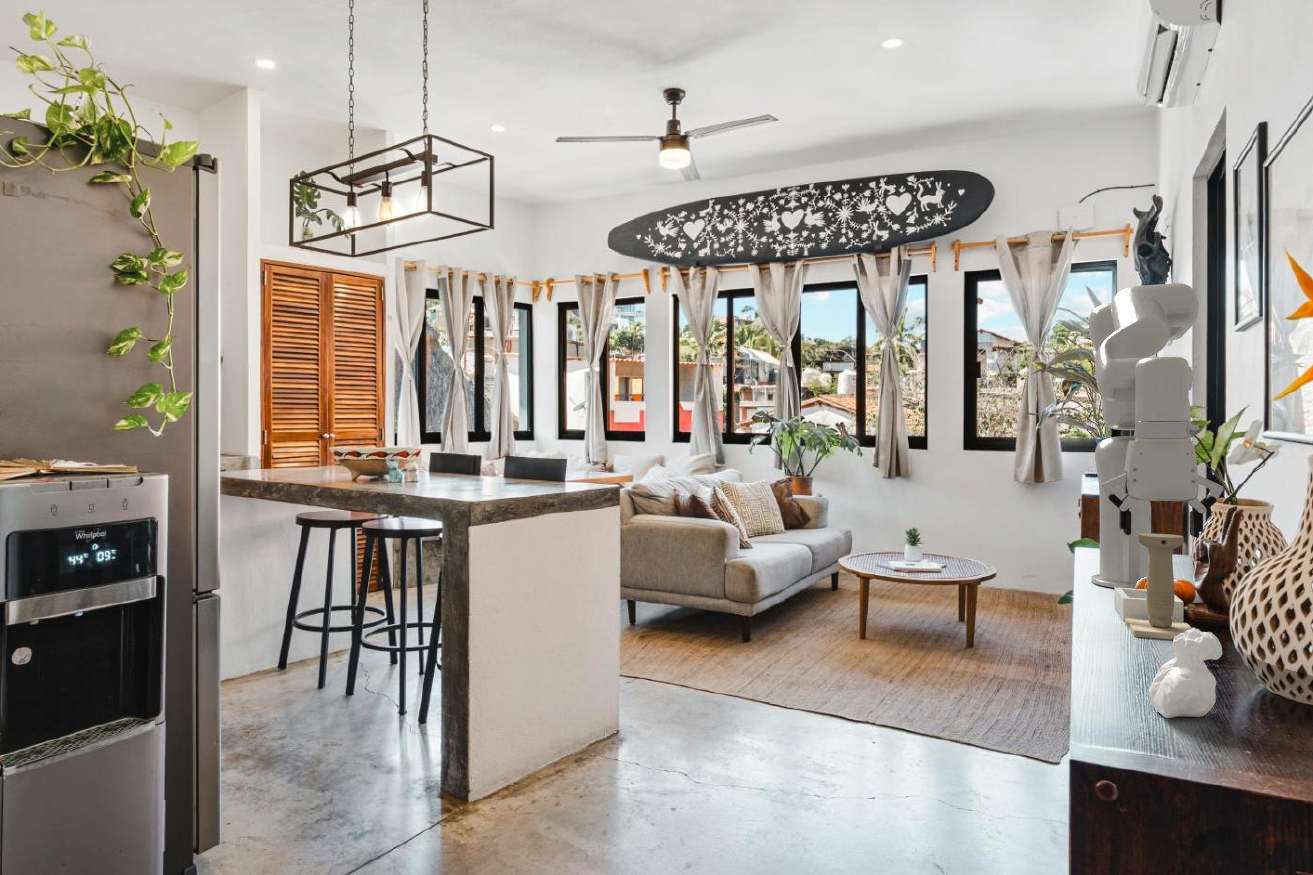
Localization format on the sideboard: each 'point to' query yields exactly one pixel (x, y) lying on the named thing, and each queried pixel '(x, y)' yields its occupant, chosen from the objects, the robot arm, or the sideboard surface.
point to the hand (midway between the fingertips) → (1160, 535)
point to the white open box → (1140, 604)
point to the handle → (1160, 576)
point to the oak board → (1155, 629)
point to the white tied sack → (1187, 677)
